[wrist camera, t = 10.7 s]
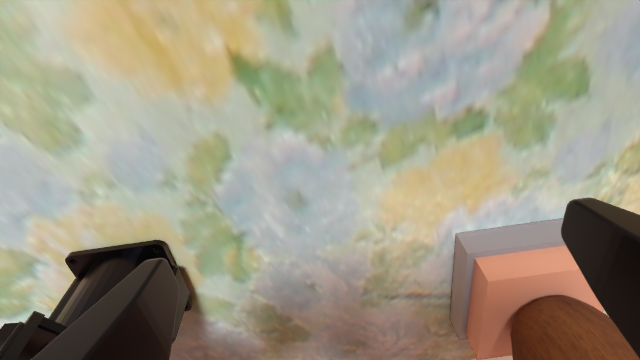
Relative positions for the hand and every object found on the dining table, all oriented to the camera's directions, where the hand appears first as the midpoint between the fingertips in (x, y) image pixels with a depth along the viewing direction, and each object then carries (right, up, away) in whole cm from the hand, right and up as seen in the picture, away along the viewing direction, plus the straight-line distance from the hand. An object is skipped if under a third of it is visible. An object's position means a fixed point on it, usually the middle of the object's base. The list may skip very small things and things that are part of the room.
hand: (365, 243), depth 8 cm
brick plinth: (+13, -5, +19) cm, 24 cm away
